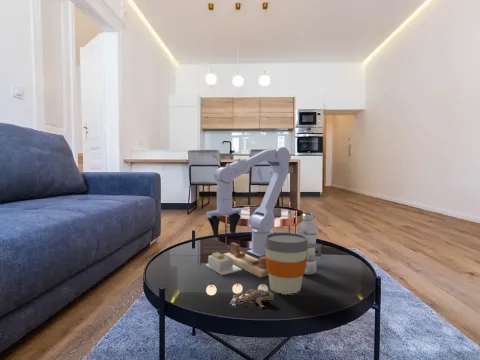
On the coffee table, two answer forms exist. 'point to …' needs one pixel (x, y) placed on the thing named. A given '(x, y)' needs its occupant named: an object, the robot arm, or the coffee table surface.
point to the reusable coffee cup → (285, 261)
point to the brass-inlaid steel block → (220, 262)
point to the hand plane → (247, 261)
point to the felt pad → (227, 271)
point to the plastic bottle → (309, 241)
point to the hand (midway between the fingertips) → (224, 234)
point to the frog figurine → (253, 297)
